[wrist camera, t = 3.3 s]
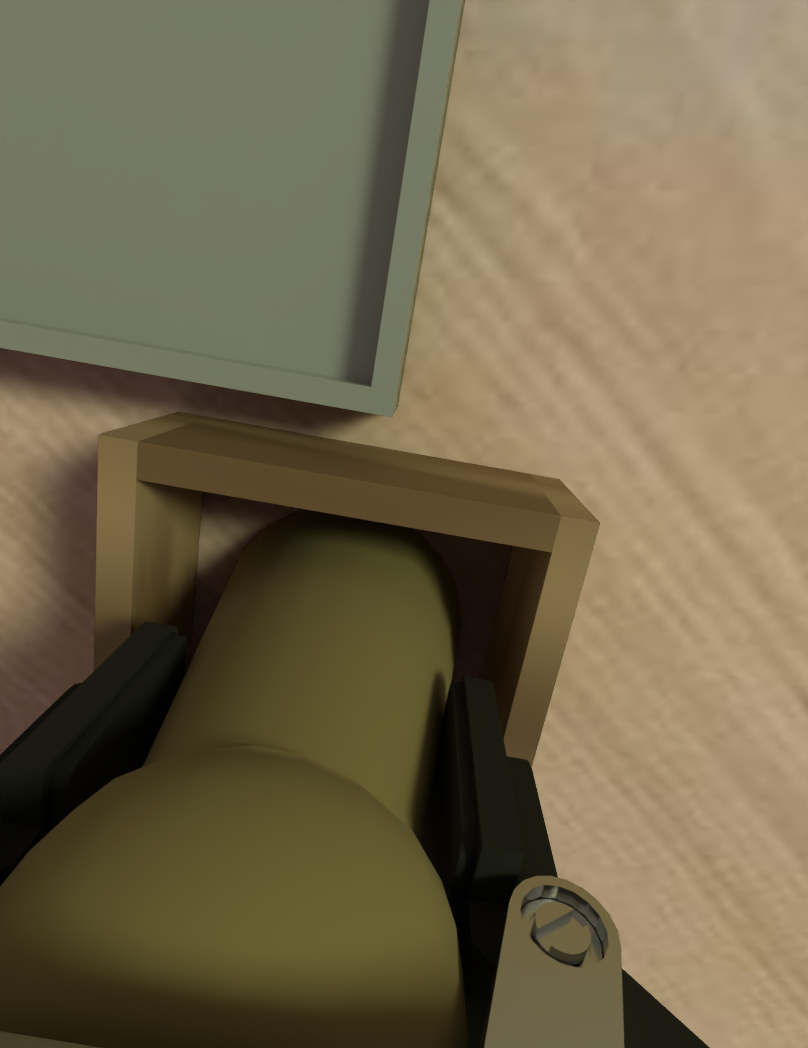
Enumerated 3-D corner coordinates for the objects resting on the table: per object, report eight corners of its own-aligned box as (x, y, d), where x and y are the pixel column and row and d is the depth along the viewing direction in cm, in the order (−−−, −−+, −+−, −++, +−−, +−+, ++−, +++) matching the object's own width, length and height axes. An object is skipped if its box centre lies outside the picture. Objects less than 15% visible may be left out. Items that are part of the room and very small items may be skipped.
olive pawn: (200, 679, 16) (-240, 1331, 5) (259, 469, 14) (-219, 830, 4) (414, 748, 16) (387, 1485, 6) (498, 551, 15) (674, 1092, 4)
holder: (480, 791, 17) (492, 904, 13) (159, 736, 17) (90, 837, 13) (559, 479, 14) (600, 522, 11) (177, 411, 14) (98, 434, 11)
